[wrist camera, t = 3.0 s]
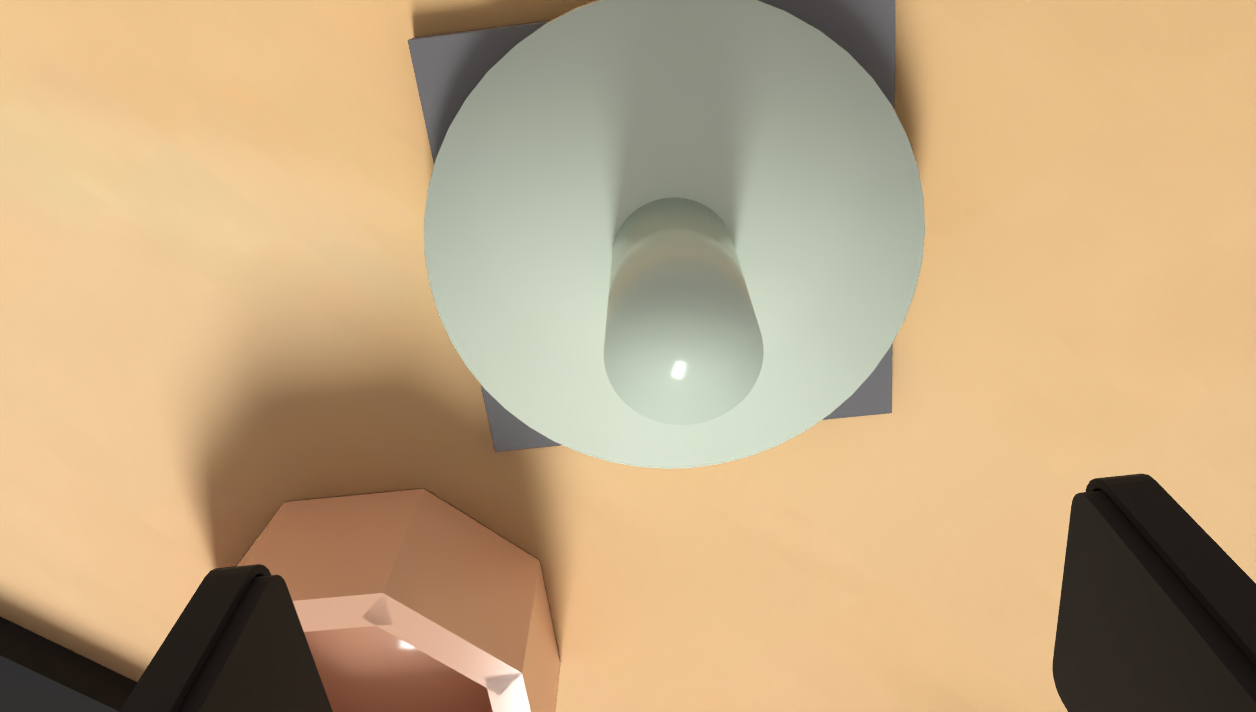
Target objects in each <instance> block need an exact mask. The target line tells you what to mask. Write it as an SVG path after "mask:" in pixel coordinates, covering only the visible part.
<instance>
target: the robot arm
mask: <svg viewBox="0 0 1256 712" xmlns="http://www.w3.org/2000/svg"><path fill="white" fill-rule="evenodd" d="M1053 677H1054V681H1055V685H1056V688H1057V691H1058V694H1059V696H1060V698H1061V700H1062V702H1063V704H1064V705H1065V707H1066V709H1067V711H1068V712H1256V584H1255V583H1254V581H1253V580H1252V579H1251V578H1250V577H1249V576H1248V575H1247V574H1246V573H1245V572H1244V571H1243V570H1242V569H1241V568H1240V567H1239V566H1238V565H1237V564H1236V563H1235V562H1234V561H1233V560H1232V559H1231V558H1230V557H1229V556H1228V555H1227V554H1226V553H1225V552H1224V551H1223V550H1222V548H1221V547H1220V546H1219V545H1218V544H1217V543H1216V542H1215V541H1214V540H1213V539H1212V538H1211V537H1210V536H1209V535H1208V534H1207V533H1206V532H1205V531H1204V530H1203V529H1202V528H1201V527H1200V526H1199V525H1198V524H1197V523H1196V522H1195V521H1194V520H1193V519H1192V518H1191V517H1190V516H1189V514H1188V513H1187V512H1186V511H1185V510H1184V509H1183V508H1182V507H1181V506H1180V505H1179V504H1178V503H1177V502H1176V501H1175V500H1174V499H1173V498H1172V497H1171V496H1170V495H1169V494H1168V493H1167V492H1166V491H1165V490H1164V489H1163V488H1162V487H1161V486H1160V485H1159V484H1158V483H1157V481H1156V480H1154V479H1153V478H1152V477H1150V476H1149V475H1146V474H1135V475H1125V476H1115V477H1105V478H1096V479H1093V480H1091V481H1090V482H1089V484H1088V485H1087V488H1086V492H1084V493H1078V494H1076V495H1075V496H1074V498H1073V501H1072V506H1071V514H1070V523H1069V531H1068V540H1067V548H1066V556H1065V565H1064V573H1063V581H1062V590H1061V598H1060V607H1059V615H1058V623H1057V632H1056V640H1055V648H1054V657H1053ZM119 712H333V711H332V708H331V705H330V703H329V700H328V697H327V694H326V692H325V689H324V686H323V683H322V681H321V678H320V675H319V672H318V670H317V667H316V664H315V661H314V659H313V656H312V653H311V650H310V648H309V645H308V642H307V639H306V637H305V634H304V631H303V628H302V626H301V623H300V620H299V617H298V615H297V612H296V609H295V606H294V604H293V601H292V598H291V595H290V593H289V590H288V587H287V584H286V582H285V580H284V579H283V578H282V577H281V576H280V575H271V573H270V571H269V569H268V568H267V567H266V566H265V565H261V564H256V565H246V566H236V567H226V568H216V569H214V570H212V571H210V572H209V573H208V574H207V575H206V576H205V578H204V579H203V581H202V583H201V584H200V586H199V587H198V589H197V590H196V592H195V594H194V595H193V597H192V598H191V600H190V601H189V603H188V604H187V606H186V608H185V609H184V611H183V612H182V614H181V615H180V617H179V619H178V620H177V622H176V623H175V625H174V626H173V628H172V629H171V631H170V633H169V634H168V636H167V637H166V639H165V640H164V642H163V644H162V645H161V647H160V648H159V650H158V651H157V653H156V655H155V656H154V658H153V659H152V661H151V662H150V664H149V665H148V667H147V669H146V670H145V672H144V673H143V675H142V676H141V678H140V680H139V681H138V683H137V684H136V686H135V687H134V689H133V690H132V692H131V694H130V695H129V697H128V698H127V700H126V701H125V703H124V705H123V706H122V708H121V709H120V711H119Z"/></svg>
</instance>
